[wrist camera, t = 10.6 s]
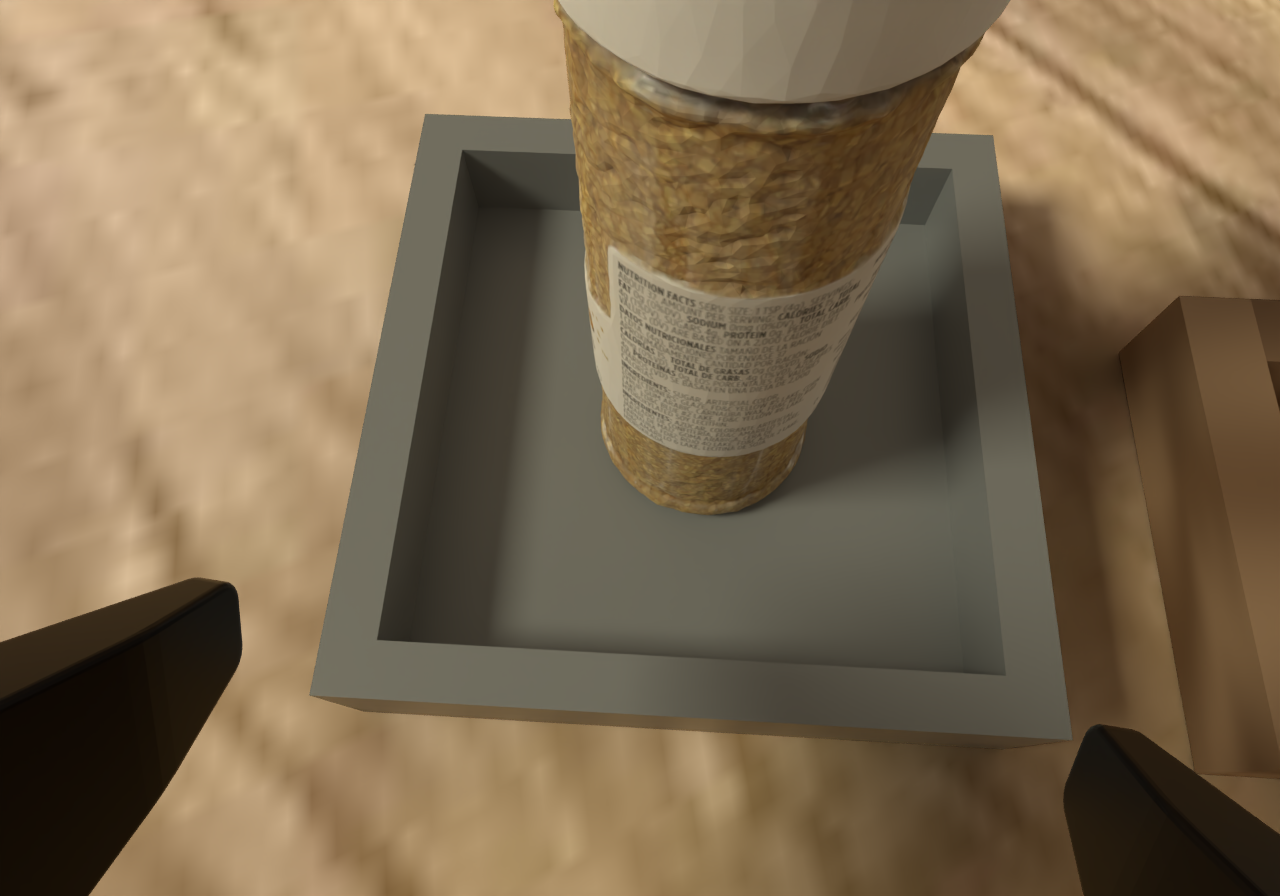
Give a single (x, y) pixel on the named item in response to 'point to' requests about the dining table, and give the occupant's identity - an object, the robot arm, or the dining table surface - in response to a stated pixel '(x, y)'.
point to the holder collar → (1216, 516)
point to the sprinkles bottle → (741, 213)
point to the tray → (684, 542)
